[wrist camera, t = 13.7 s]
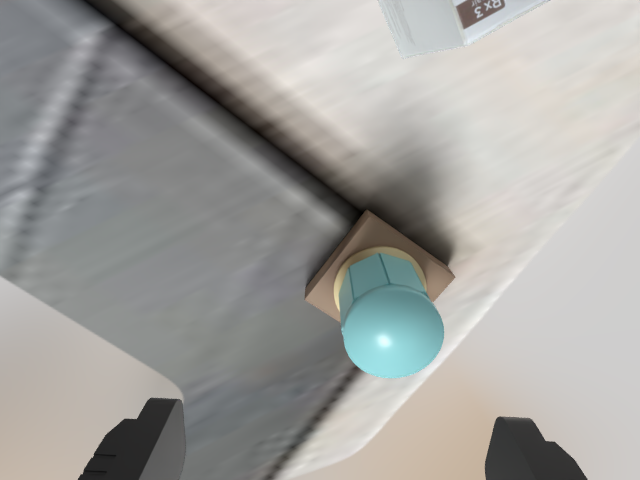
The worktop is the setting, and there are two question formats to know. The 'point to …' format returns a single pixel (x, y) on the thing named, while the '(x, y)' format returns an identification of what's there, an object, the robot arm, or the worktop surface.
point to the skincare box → (448, 22)
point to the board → (366, 242)
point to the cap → (388, 317)
